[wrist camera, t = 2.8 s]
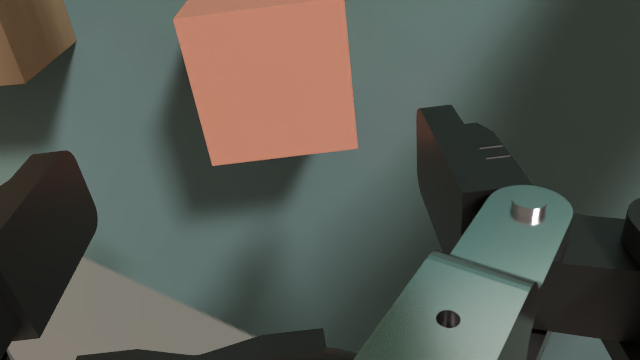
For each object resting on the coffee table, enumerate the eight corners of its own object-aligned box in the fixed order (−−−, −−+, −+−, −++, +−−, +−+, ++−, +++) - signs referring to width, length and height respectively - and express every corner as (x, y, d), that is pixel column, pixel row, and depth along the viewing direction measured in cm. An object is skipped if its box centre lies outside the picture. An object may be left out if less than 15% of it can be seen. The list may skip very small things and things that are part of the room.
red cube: (332, -40, 20) (343, -4, 15) (345, 82, 23) (357, 148, 18) (205, -23, 20) (173, 19, 15) (232, 96, 23) (212, 165, 18)
